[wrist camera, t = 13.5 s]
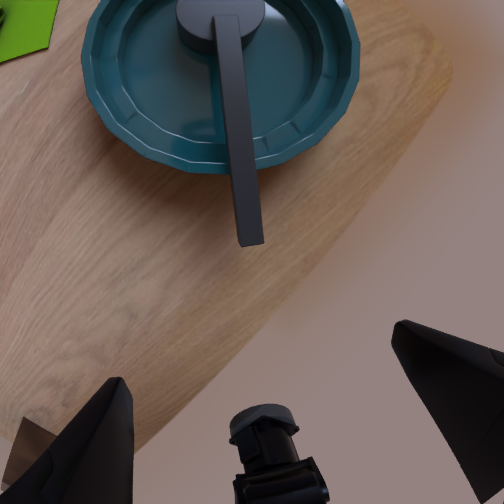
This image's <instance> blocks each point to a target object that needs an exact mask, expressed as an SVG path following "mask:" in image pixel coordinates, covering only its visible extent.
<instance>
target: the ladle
mask: <svg viewBox="0 0 504 504" xmlns="http://www.w3.org/2000/svg"><path fill="white" fill-rule="evenodd" d="M175 13H176V21H177V28H178V33H179V35H180V37H181V39H182V40H183V41H184V43H185V44H186V45H188V46H189V47H190V48H192V49H194V50H196V51H198V52H201V53H204V54H209V55H216V61H217V70H218V79H219V88H220V97H221V106H222V114H223V123H224V132H225V140H226V148H227V157H228V165H229V173H230V181H231V189H232V197H233V205H234V213H235V221H236V229H237V237H238V242H239V244H240V246H241V247H247V246H253V245H259V244H264V236H263V227H262V217H261V207H260V198H259V189H258V180H257V170H256V161H255V152H254V144H253V135H252V126H251V117H250V109H249V101H248V92H247V84H246V76H245V68H244V59H243V51H242V48H243V47H245V46H246V45H247V44H249V43H250V42H251V40H252V39H253V38H254V36H255V34H256V32H257V30H258V29H259V27H260V25H261V23H262V21H263V19H264V16H265V3H264V0H177V2H176V7H175Z"/></svg>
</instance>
